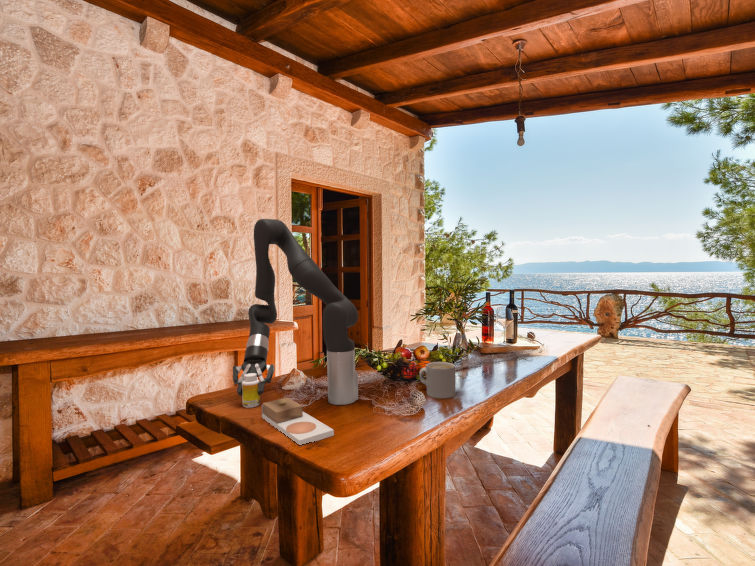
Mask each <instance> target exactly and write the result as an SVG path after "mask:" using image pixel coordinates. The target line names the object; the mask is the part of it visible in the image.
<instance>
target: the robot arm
mask: <svg viewBox="0 0 755 566" xmlns="http://www.w3.org/2000/svg"><path fill="white" fill-rule="evenodd" d="M270 245H276V246H277V247H278V248H280V250H281V251H282V253H283V254H284V255H285V257H286V263H287V264H286V265H287V269H288V272H289V274H290V275H291V277H292V278H293V279H294V280H295V282H296V283H297V284H298V285H299V287H301V288H302V289H304V290H305V291H306V292H308V293H309V294H311V295H313V296H314V297H316V298H318V299H319V300H320V301H322V302H323V304H325V307H324V309H323V312H322V329H323V330H322V331H323V341H324V343H325V346H326V363H327V364H326V367H327V368H326V369H327V373H326V374H327V400H328V403H329V404H331V405H335V406H337V405H338V406H342V405H343V406H344V405H350V404H353V403H354V402H356V401H357V400H358V401H359V380H358V379H359V377H358V376H359V375H358V371H357V370H356V360H355V357H356V355H355V354H356V353H355V351H356V350H355V341H354V340H353V339H352V338H350V337H349V336H348V335H349V334H348V329H349V328H351V327H353V326H355V325H356V324H357V322H358V321H359V320H358V319H359V312H358V310H357V307H356V306H355V304H354V303H353V302H352V301H351V300H350V299H349V298H348V297H347V296H345V294H343V292H342V291H340V289H338V288H337V287H336V286H335V284H334V283H333V282H332V281H331V280H330V278H329V277H328V276H327V275H326V273H324V272H323V270H322V269H321V268H320V267H319V266H318V264H317V263H316V262H315V261H314V260H313V258H312V257H311V256H310V255H309V254H308V253H307V252H306V250H305V249H304V248H303V247H302V246H301V245H300V243H299V242H298V241H297V239H296V237H295V236H294V235H293V233H292V232H291V231H290V229H289V228H288V226H287V225H286V223H285V222H283V221H282V220H279V219H274V218H260V219H258V220H257V221H256V222H255V223H254V227H253V246H254V256H255V266H256V267H255V270H256V271H255V273H256V275H255V284H254V285H255V287H254V296H255V298H256V299H258V300H261V301H264V302H265V303H267V304H259V303H254V304H252V305H251V306H250V307H249V309H248V310H247V311H248V312H247V315H248V320H249V334H248V339H247V342H246V347H245V351H244V352H245V353H244V357H243V363H242V364H241V365H239V366H237V365H233V366H232V381H233V383H234V385H237V388H236V393H237V395H238V396H239V397H242V382H243V381H244V375H245V374H249V373H256V374H257V378H259V387H258V394H259V395H260V396H262V394H264V391H265V390H264V389H265V385H266V384H270V383H271V382H272V379H273V376H274V373H275V371H276V370H275V369H276V368H275V365H274V364H273V363H271V364H267V359H268V352H269V344H270V343H269V340H270V332H271V328H270V326H269V325H268V324H274V323H275V322H276V321H277V318H278V311H277V307H276V302H275V301H276V300H275V290H276V288H275V287H276V275H275V270H274V268H273V266H272V263H271V260H270V255H269V252H270V251H269V250H270ZM266 370H267V373H266V376H265V378H264V376H263V373H264V372H265V371H266ZM241 371H242V373H241ZM240 373H241V375H240V378H239V374H240Z"/></svg>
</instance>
